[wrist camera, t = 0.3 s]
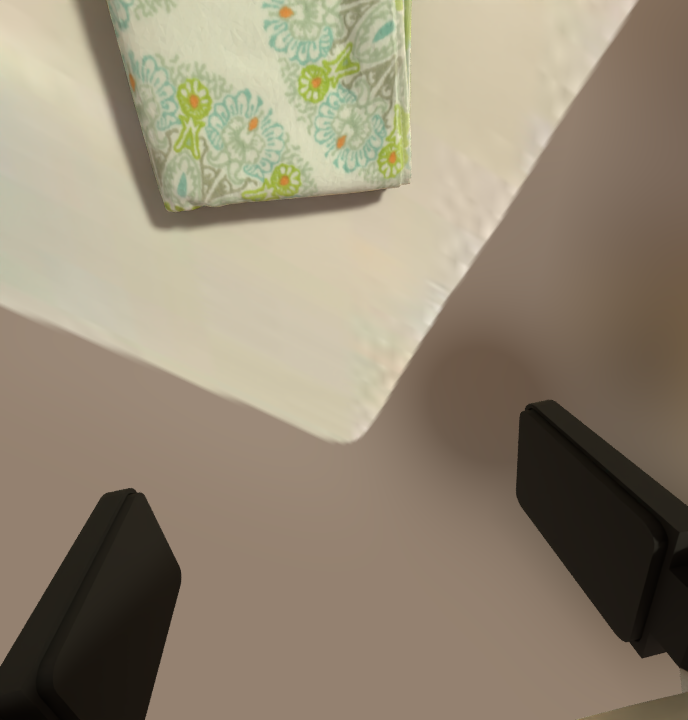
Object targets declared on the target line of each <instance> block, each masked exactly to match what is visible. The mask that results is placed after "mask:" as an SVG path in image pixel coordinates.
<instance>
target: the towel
mask: <svg viewBox="0 0 688 720" xmlns="http://www.w3.org/2000/svg"><path fill="white" fill-rule="evenodd" d="M106 2H107V6H108V10H109V13H110V17H111V20H112V23H113V27H114V30H115V34H116V38H117V42H118V46H119V49H120V52H121V56H122V60H123V63H124V67H125V72H126V75H127V79H128V82H129V87H130V90H131V93H132V97H133V101H134V105H135V108H136V111H137V114H138V118H139V122H140V125H141V129H142V133H143V136H144V140H145V143H146V147H147V150H148V154H149V157H150V161H151V164H152V169H153V172H154V175H155V178H156V181H157V184H158V188H159V191H160V194H161V196H162V199H163V202H164V206H165V208H166V210H167V211H169V212H181V211H183V210H184V211H188V210H194V209H197V208H199V207H202V206H209V207H221V206H225V205H228V204H239V203H245V202H258V201H272V200H283V199H293V198H304V197H315V196H326V195H337V194H348V193H359V192H366V191H373V190H379V189H386V188H396V187H400V186H401V185H404V184H410V178H411V132H410V94H411V92H410V76H411V68H410V58H411V53H410V48H411V5H412V0H106Z"/></svg>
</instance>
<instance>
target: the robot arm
mask: <svg viewBox="0 0 688 720" xmlns="http://www.w3.org/2000/svg"><path fill="white" fill-rule="evenodd" d="M516 495H517V498H518V501H519V503H520V505H521V507H522V508H523V510H524V511H525V512H526V514H527V515H528V517H529V518H530V519H531V520H532V522H533V523H534V524H535V526H536V527H537V529H538V530H539V531H540V533H541V534H542V535H543V537H544V538H545V539H546V541H547V542H548V543H549V545H550V546H551V548H552V549H553V550H554V552H555V553H556V554H557V556H558V557H559V558H560V560H561V561H562V562H563V564H564V565H565V566H566V568H567V569H568V571H569V572H570V573H571V575H572V576H573V577H574V579H575V580H576V581H577V583H578V584H579V585H580V587H581V588H582V589H583V591H584V592H585V593H586V595H587V596H588V598H589V599H590V600H591V602H592V603H593V604H594V606H595V607H596V608H597V610H598V611H599V612H600V614H601V615H602V616H603V618H604V619H605V621H606V622H607V623H608V625H609V626H610V627H611V629H612V630H613V631H614V633H615V634H616V635H617V636H618V637H619V638H620V639H621V640H622V641H624V642H630V644H631V645H632V646H633V647H634V649H635V650H636V651H637V653H638V654H639V655H640V657H641V658H645V657H649V656H653V655H657V654H661V653H665V652H667V653H668V654H669V656H670V657H671V658H672V659H673V661H674V662H675V663H676V664H677V665H678V666H679V669H680V678H681V688H682V693H681V694H678V695H673V696H669V697H664V698H660V699H656V700H652V701H647V702H643V703H639V704H635V705H631V706H627V707H623V708H619V709H615V710H612V711H608V712H604V713H600V714H596V715H592V716H589V717H584V718H581V719H577V720H688V506H687V505H686V504H684V503H683V502H682V501H680V500H679V499H678V498H677V497H675V496H674V495H673V494H672V493H670V492H669V491H668V490H667V489H665V488H664V487H663V486H661V485H660V484H659V483H658V482H656V481H655V480H654V479H653V478H651V477H650V476H649V475H648V474H646V473H645V472H644V471H642V470H641V469H640V468H639V467H637V466H636V465H635V464H634V463H632V462H631V461H630V460H628V459H627V458H626V457H625V456H624V455H622V454H621V453H620V452H619V451H617V450H616V449H615V448H613V447H612V446H611V445H610V444H608V443H607V442H606V441H605V440H603V439H602V438H601V437H600V436H598V435H597V434H596V433H595V432H593V431H592V430H591V429H589V428H588V427H587V426H586V425H584V424H583V423H582V422H581V421H579V420H578V419H577V418H576V417H574V416H573V415H571V414H570V413H569V412H568V411H567V410H565V409H564V408H563V407H562V406H560V405H559V404H558V403H556V402H555V401H553V400H546V401H541V402H536V403H531V404H528V405H527V406H526V408H525V411H523V412H521V414H520V420H519V441H518V461H517V483H516ZM180 585H181V570H180V567H179V565H178V563H177V561H176V558H175V557H174V555H173V552H172V550H171V548H170V546H169V544H168V542H167V540H166V538H165V536H164V534H163V532H162V530H161V528H160V526H159V524H158V522H157V520H156V518H155V516H154V514H153V511H152V510H151V507H150V505H149V504H148V501H147V499H146V497H145V495H144V494H143V493H137V492H136V490H134V489H133V488H128V489H123V490H119V491H114V492H109V493H106V494H104V495H103V496H102V497H101V498H100V500H99V502H98V504H97V505H96V507H95V509H94V510H93V512H92V514H91V515H90V517H89V519H88V520H87V522H86V524H85V526H84V527H83V529H82V530H81V532H80V534H79V535H78V537H77V539H76V540H75V542H74V544H73V546H72V547H71V549H70V551H69V552H68V554H67V556H66V557H65V559H64V561H63V562H62V564H61V566H60V567H59V569H58V571H57V572H56V574H55V576H54V577H53V579H52V581H51V582H50V584H49V586H48V588H47V589H46V591H45V592H44V594H43V596H42V598H41V599H40V601H39V602H38V604H37V606H36V608H35V609H34V611H33V613H32V614H31V616H30V618H29V619H28V621H27V623H26V624H25V626H24V628H23V629H22V631H21V633H20V635H19V636H18V638H17V639H16V641H15V643H14V644H13V646H12V648H11V650H10V651H9V653H8V654H7V656H6V658H5V660H4V661H3V663H2V665H1V666H0V720H145V717H146V713H147V710H148V706H149V702H150V698H151V694H152V691H153V687H154V683H155V679H156V675H157V672H158V668H159V664H160V660H161V657H162V653H163V649H164V645H165V642H166V637H167V634H168V630H169V627H170V622H171V619H172V615H173V611H174V608H175V604H176V600H177V596H178V593H179V589H180Z"/></svg>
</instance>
